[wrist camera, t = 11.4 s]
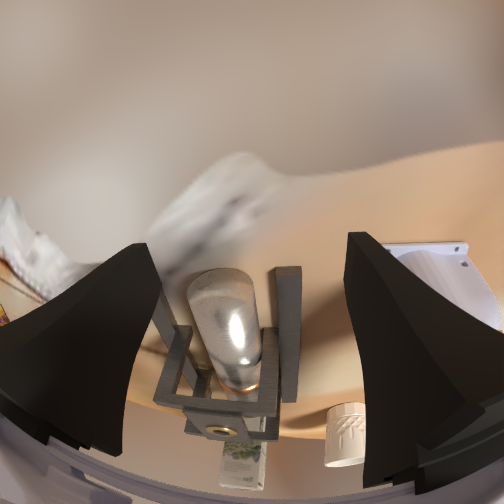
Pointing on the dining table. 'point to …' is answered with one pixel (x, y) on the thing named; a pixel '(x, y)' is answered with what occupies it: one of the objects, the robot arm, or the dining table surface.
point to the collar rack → (181, 361)
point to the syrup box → (244, 461)
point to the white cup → (345, 435)
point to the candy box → (3, 317)
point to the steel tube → (229, 329)
